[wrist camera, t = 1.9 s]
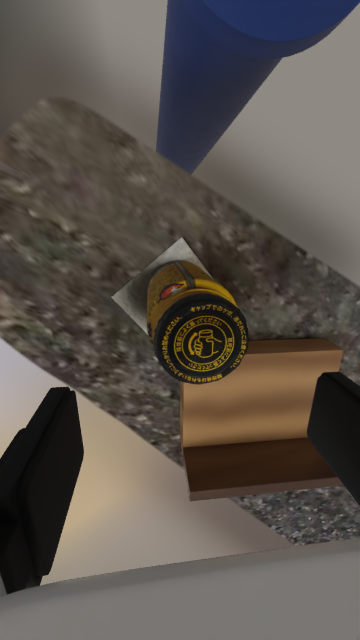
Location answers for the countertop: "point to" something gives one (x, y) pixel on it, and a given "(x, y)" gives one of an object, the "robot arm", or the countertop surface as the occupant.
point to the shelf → (257, 423)
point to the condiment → (186, 317)
